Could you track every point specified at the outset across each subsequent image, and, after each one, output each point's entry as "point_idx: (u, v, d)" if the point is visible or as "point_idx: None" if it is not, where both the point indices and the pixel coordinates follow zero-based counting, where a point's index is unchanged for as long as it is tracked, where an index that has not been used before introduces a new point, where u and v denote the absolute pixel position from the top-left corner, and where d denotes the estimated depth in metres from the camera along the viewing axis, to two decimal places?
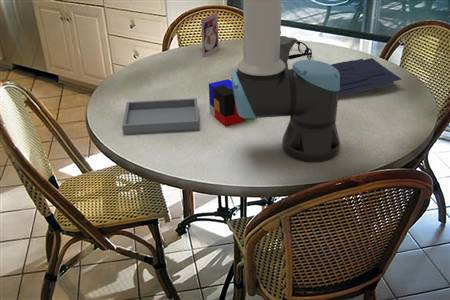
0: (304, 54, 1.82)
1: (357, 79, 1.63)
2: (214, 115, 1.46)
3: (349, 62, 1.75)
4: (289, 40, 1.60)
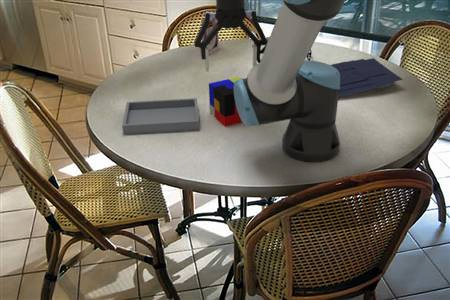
0: None
1: (358, 79, 1.62)
2: (214, 115, 1.46)
3: (350, 62, 1.75)
4: None
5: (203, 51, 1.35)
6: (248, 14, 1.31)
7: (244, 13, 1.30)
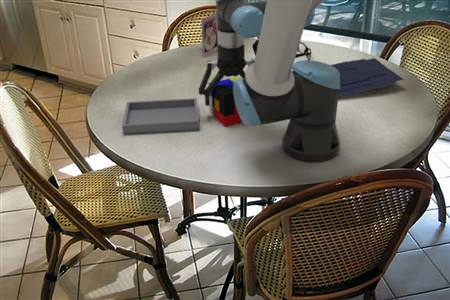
0: (303, 54, 1.82)
1: (359, 79, 1.62)
2: (214, 115, 1.46)
3: (351, 62, 1.75)
4: None
5: (207, 98, 1.42)
6: (248, 64, 1.38)
7: (244, 62, 1.37)
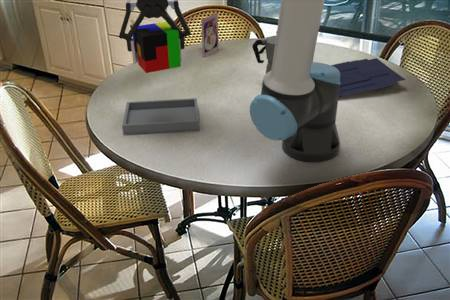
0: None
1: (361, 79, 1.62)
2: (138, 62, 1.36)
3: (353, 62, 1.75)
4: None
5: (129, 43, 1.32)
6: (170, 4, 1.28)
7: (166, 2, 1.27)
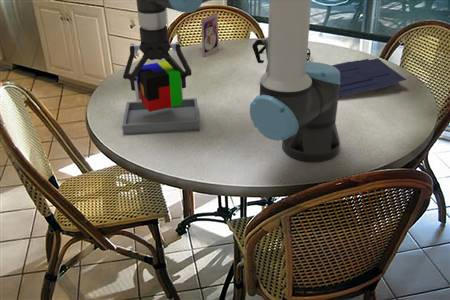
0: None
1: (362, 79, 1.62)
2: (141, 100, 1.42)
3: (354, 62, 1.75)
4: None
5: (132, 82, 1.38)
6: (172, 47, 1.34)
7: (168, 45, 1.33)
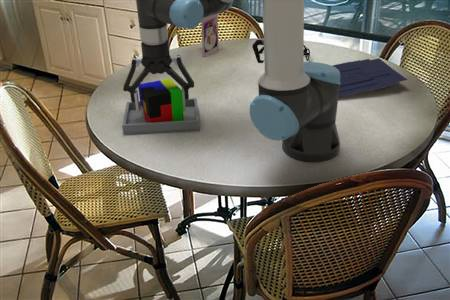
0: None
1: (363, 79, 1.62)
2: (144, 117, 1.44)
3: (356, 62, 1.75)
4: None
5: (132, 95, 1.40)
6: (174, 60, 1.36)
7: (169, 59, 1.35)
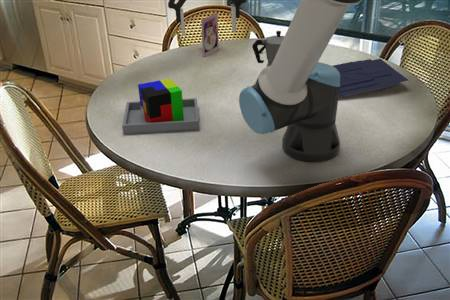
0: None
1: (364, 79, 1.62)
2: (144, 117, 1.44)
3: (357, 62, 1.75)
4: None
5: (178, 13, 1.25)
6: None
7: None
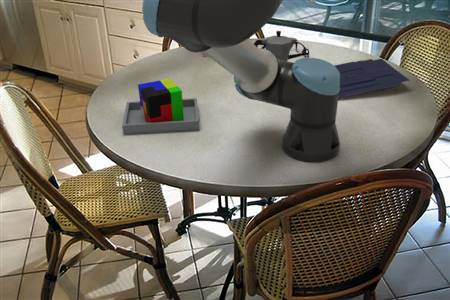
0: (301, 54, 1.81)
1: (365, 79, 1.62)
2: (144, 117, 1.44)
3: (358, 62, 1.75)
4: (289, 40, 1.60)
5: None
6: None
7: None
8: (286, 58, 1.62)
